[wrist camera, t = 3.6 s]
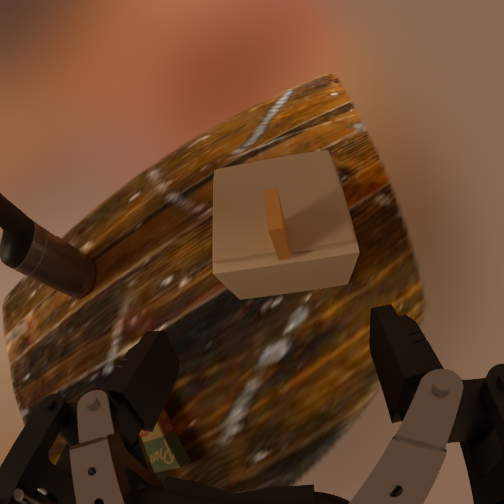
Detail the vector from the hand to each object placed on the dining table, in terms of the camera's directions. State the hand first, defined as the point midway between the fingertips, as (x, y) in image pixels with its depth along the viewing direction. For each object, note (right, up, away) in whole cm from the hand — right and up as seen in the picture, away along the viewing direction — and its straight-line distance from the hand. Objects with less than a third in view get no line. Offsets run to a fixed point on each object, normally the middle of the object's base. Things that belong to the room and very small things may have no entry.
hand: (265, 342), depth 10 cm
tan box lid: (+2, +9, +21) cm, 23 cm away
